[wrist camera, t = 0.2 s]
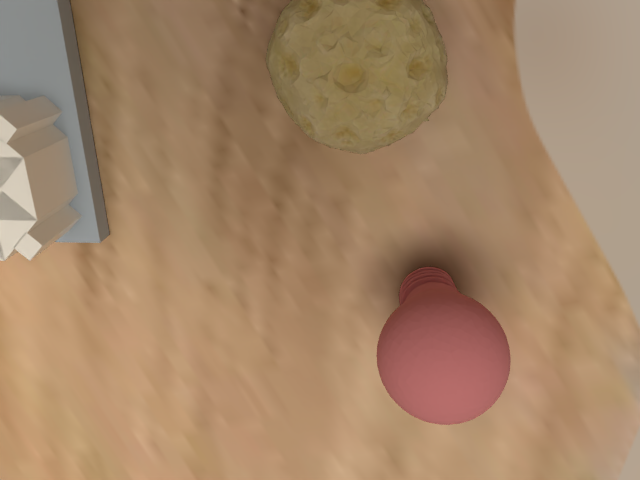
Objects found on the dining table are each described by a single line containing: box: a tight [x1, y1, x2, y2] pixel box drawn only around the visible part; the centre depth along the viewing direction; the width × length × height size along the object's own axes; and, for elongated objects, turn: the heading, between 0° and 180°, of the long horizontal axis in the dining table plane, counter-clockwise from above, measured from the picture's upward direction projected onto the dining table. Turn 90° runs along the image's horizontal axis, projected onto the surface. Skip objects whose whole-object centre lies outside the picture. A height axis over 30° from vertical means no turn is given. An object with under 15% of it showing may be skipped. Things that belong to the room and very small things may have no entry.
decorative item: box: [266, 0, 448, 154], centre depth 33 cm, size 10×10×10 cm
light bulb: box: [377, 267, 510, 425], centre depth 35 cm, size 7×7×12 cm
